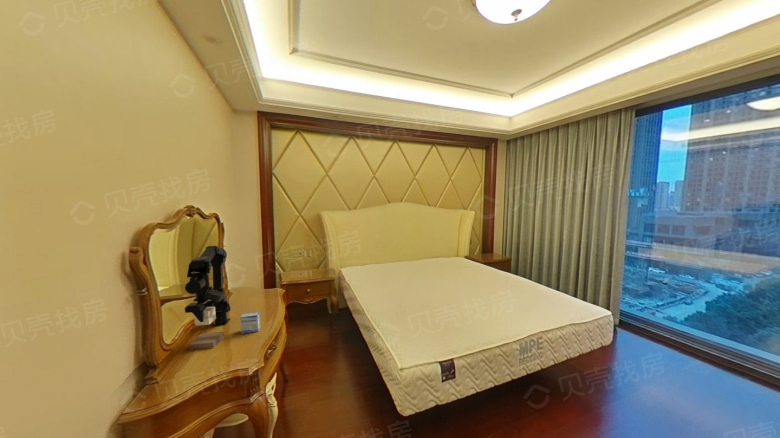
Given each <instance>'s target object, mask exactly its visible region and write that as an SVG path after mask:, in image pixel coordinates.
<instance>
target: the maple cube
mask: <svg viewBox="0 0 780 438" xmlns="http://www.w3.org/2000/svg"><path fill="white" fill-rule="evenodd" d="M193 316H194V325H195V326H196V327H197V326H207V325H211V323H212V324H213V323H214V322H215V319H216V312H215V307H206V309H205V310H204V317H203V322H200V321H199V320H198V319H197V318H196V316H195V315H194V314H193Z"/></svg>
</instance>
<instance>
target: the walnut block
mask: <svg viewBox="0 0 780 438" xmlns="http://www.w3.org/2000/svg"><path fill="white" fill-rule="evenodd" d="M224 338H225V331H215V332H203V333H201V334H200V335H198V336H197V337H196V338H195V339H194V340H193V341H192V342H191V343H189V350H190V351H194V350H205V349H207V350H208V349H214V348H216V346H217V345H218V344H219V343H221V341H222V340H223V339H224Z"/></svg>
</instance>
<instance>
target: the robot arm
mask: <svg viewBox="0 0 780 438" xmlns="http://www.w3.org/2000/svg"><path fill="white" fill-rule="evenodd" d="M227 256H228V253H227V251H226V250H225V249H224V248H223V247H222V248H221V247H220V246H218V245H208V246H206V247H205V249H204V251H203V252H202V253H201V254H200V256H198V257H196V258H194V259H192V260H191V261H190V262H189V264H188V269H187V274H186V276H187V278H189V281H188V282H187V283H185V287H184V290H185V291H186V293H188V294H190V295H194V296H195V298H194V299H193V302H191V303H188V305H186V306H185V307H184V313H185V314H187V313H191V314H193V316H194V315H195V316H196V318H197V319H198V320H199V321H200V322H203V317H204V310H205V309H206V307H215V312H216V319H215V320H214V322H212V325H211V326H225V325H226V324H228V322H229V321H230V320H231V318H228V313H229V312H230V311H232V310H231V304H230V302H229V301H228V297H227V296H226V291H225V288H224V272H223V271H224V270H223V269H224V268H223V267H224V265H225V263H226V260H227V258H228V257H227ZM211 269H212V285H211V286H210V276H209V274H210V273H211Z"/></svg>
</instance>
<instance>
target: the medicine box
mask: <svg viewBox="0 0 780 438" xmlns="http://www.w3.org/2000/svg"><path fill="white" fill-rule="evenodd" d="M260 329H261V321H260V312H259V311H257V312H250V313H242V314H241V316H240V331H241V334H242V335H244V334H250V333H257V332H259V331H260Z"/></svg>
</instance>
